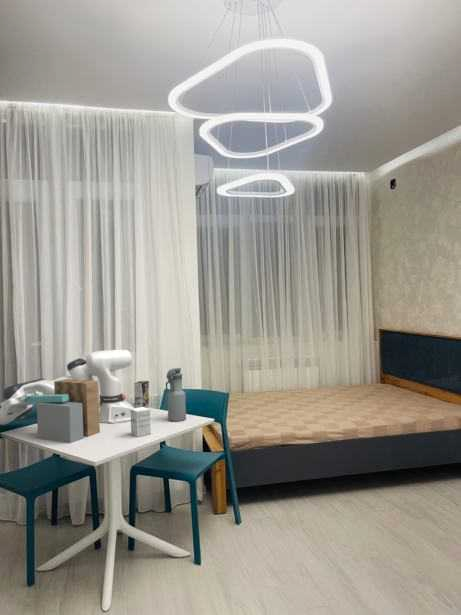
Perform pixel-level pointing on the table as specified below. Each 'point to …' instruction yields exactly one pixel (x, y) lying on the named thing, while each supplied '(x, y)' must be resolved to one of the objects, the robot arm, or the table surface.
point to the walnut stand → (83, 401)
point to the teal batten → (47, 398)
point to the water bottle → (175, 396)
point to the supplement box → (140, 422)
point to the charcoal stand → (60, 421)
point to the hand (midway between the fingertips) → (32, 393)
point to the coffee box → (141, 394)
